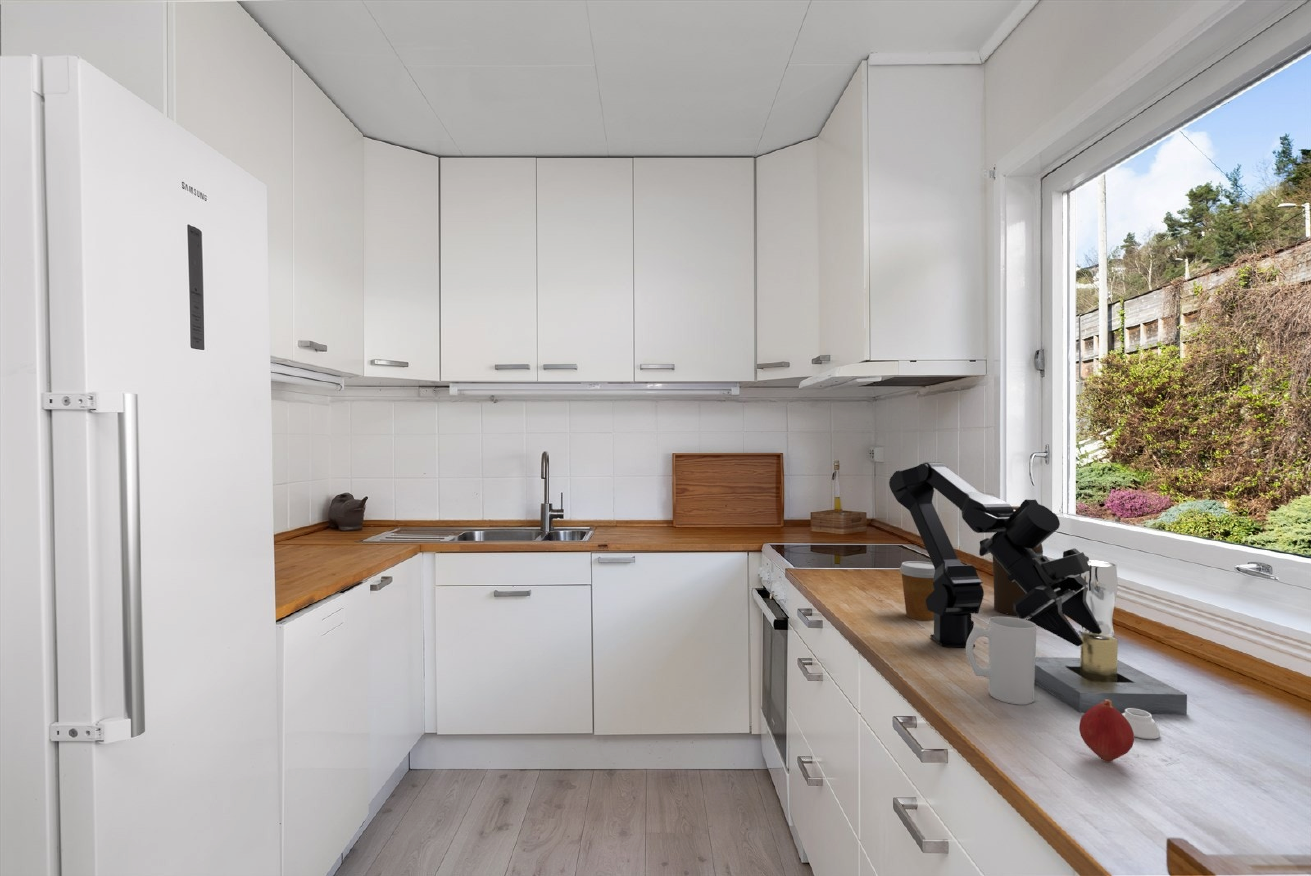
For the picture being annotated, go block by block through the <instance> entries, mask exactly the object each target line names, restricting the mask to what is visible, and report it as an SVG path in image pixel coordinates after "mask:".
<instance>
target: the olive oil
mask: <svg viewBox="0 0 1311 876" xmlns="http://www.w3.org/2000/svg"><path fill="white" fill-rule="evenodd" d="M1011 506H1012V505H1011ZM1019 507H1020V505H1019V506H1012V508H1013V510H1017V509H1018V508H1019ZM1042 543H1043V542H1042ZM1042 543H1041V544H1040V545H1039V546H1038V547H1036V548H1033V549H1032V550H1033V551H1034V552H1035V553H1036V554H1037V556H1042V555H1043V556H1044V549H1043V548H1044V547H1043V545H1042ZM992 568H993V569H992V571H993V575H992V576H993V606H994V607H993V608H995V609H996V610H995V609H994V610H995V611H997V612H999V613H1002V614H1005V613H1008V614H1007V615H1010V614H1012V615H1011V616H1016V615H1017V614H1016V613H1015V612H1014V611H1013V606H1014V602H1016V601H1017V600H1018V599H1020V598H1021V597H1023V596H1024V595H1025V594H1026V593H1025V592H1024V590H1023V589H1022V588H1021V587H1020V586H1019V585H1018V584H1017V582H1016V581H1013V582H1010V581H1009V580H1008V578H1007V577H1008V576H1009V573H1008V572H1007V571H1006V570H1005V569H1004V568H1003V567H1002V565H1001V564H1000V563H999V562H998V561H997V560H996V559H995V557H994V556H993V555H992ZM1032 616H1033V615H1032V614H1030V616H1029V617H1032Z"/></svg>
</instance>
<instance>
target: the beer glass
mask: <svg viewBox="0 0 1311 876" xmlns="http://www.w3.org/2000/svg"><path fill="white" fill-rule="evenodd" d="M1087 562H1088V565H1089V567H1090V569H1091V571H1086V572H1085V573H1082V574H1079V575H1081V576H1082V578H1083V579H1084V580H1085V581H1086V582H1087V583H1088V585H1086V586H1085V587H1083V588H1082V589H1084V588H1086V587H1088V591H1087V596H1086V602H1087V604H1088V606H1089V608H1090V610H1091V612H1092V614H1093V616H1094V617H1095V619H1096V621H1097V623H1098V625H1099V627H1100V629H1101V630H1102V633H1100V634H1102V635H1107V636H1110V637H1113V638H1115V631H1114V627H1113V614H1114V609H1115V606H1116V605H1115V604H1116V599H1117V596H1118V595H1117V594H1118V574H1117V573H1118V570H1117V564H1116V563H1112V562H1108V561H1101V560H1090V559H1089V561H1087ZM1082 589H1081V590H1082ZM1081 590H1080V591H1081ZM1079 632H1080V633H1081V632H1082V633H1081V634H1083V633H1091V632H1090V631H1088V630H1087V629H1085V628H1084V627H1082V626H1081V625H1079Z"/></svg>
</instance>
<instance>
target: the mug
mask: <svg viewBox="0 0 1311 876" xmlns="http://www.w3.org/2000/svg"><path fill="white" fill-rule="evenodd" d="M1037 627H1038V626H1037V625H1036V624H1035V623H1033V622H1031V621H1028V619H1020V618H1019V617H1013V616H993V617H989V618H988V628H983V627H982V626H979V625H975V624H974V626H973V630H972V632H971V633H970V635H969V637H968V639H967V643H966V647H965V652H966V656H967V661H968V662H969V664H970V665H969V666H970V667H971V670H972V672H973V674H974V676H976V677H983V678H986V679H988V692H989V695H990V696H991V697H992V698H994V699H996V700H998V701H1000V702H1004V703H1007V704H1012V705H1030V704H1032V703H1033V702H1034V697H1035V695H1034V694H1035V693H1034V691H1035V682H1034V680H1035V657H1036V652H1037V651H1036V650H1037V649H1036V648H1037V647H1036V646H1037ZM980 637H985V638H987V639H988V666H986V667H985V666H980V665H979V663H978V662H977V660H976V659H975V654H974V647H973V645H974V644H975V642H976V641H977V640H978V639H979V638H980Z"/></svg>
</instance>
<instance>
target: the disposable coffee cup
mask: <svg viewBox="0 0 1311 876" xmlns="http://www.w3.org/2000/svg"><path fill="white" fill-rule="evenodd" d="M899 571H900V573H901V579H902V588H903V597H904V605H905V607H904V608H905V614H906V615H905V616H906V617H908V618H910V619H914V620H919V621H934V612H931V611H929V610H927V605H926V599H927V597H928V596H929V595H930V594H931V593H932V592H933V591H934V586H933V578H934V573H935V568H934V566H933V563H932V562H928V561H921V560H920V561H919V560H918V561H916V560H913V561H911V560H910V561H909V560H908V561H903V562H901V566H900V567H899Z"/></svg>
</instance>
